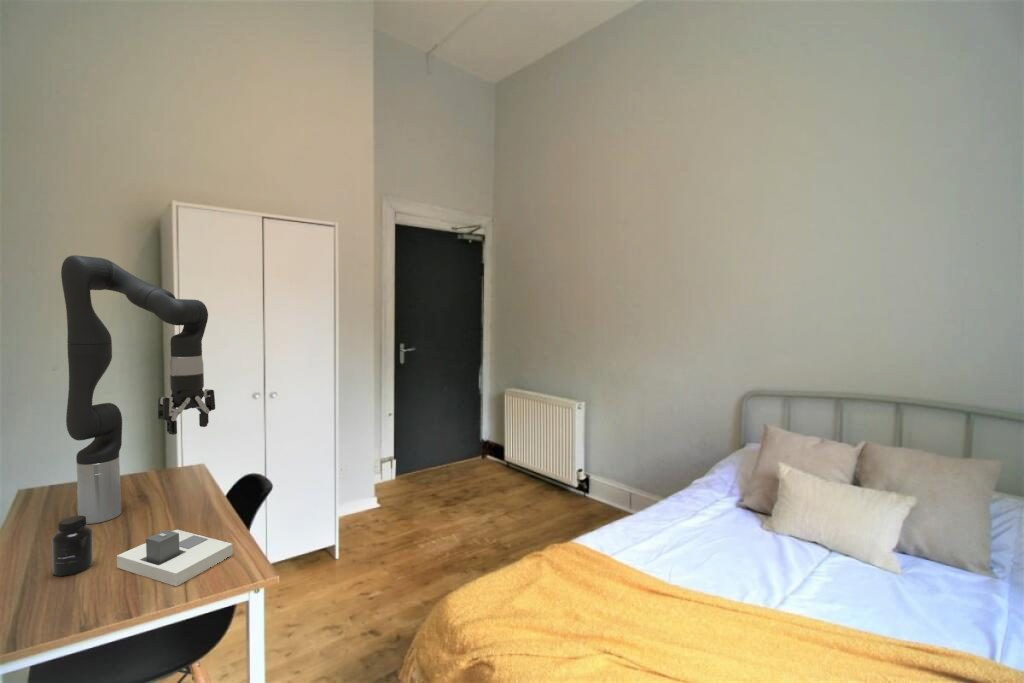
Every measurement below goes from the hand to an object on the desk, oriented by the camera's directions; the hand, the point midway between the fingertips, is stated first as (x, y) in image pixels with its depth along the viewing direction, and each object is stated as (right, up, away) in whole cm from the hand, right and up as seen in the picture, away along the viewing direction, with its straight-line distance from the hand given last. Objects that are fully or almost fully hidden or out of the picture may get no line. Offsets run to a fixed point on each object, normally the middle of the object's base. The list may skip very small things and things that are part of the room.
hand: (188, 430), depth 127 cm
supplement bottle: (-14, -29, -19) cm, 37 cm away
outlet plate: (+7, -29, -14) cm, 34 cm away
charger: (+6, -30, -17) cm, 35 cm away
